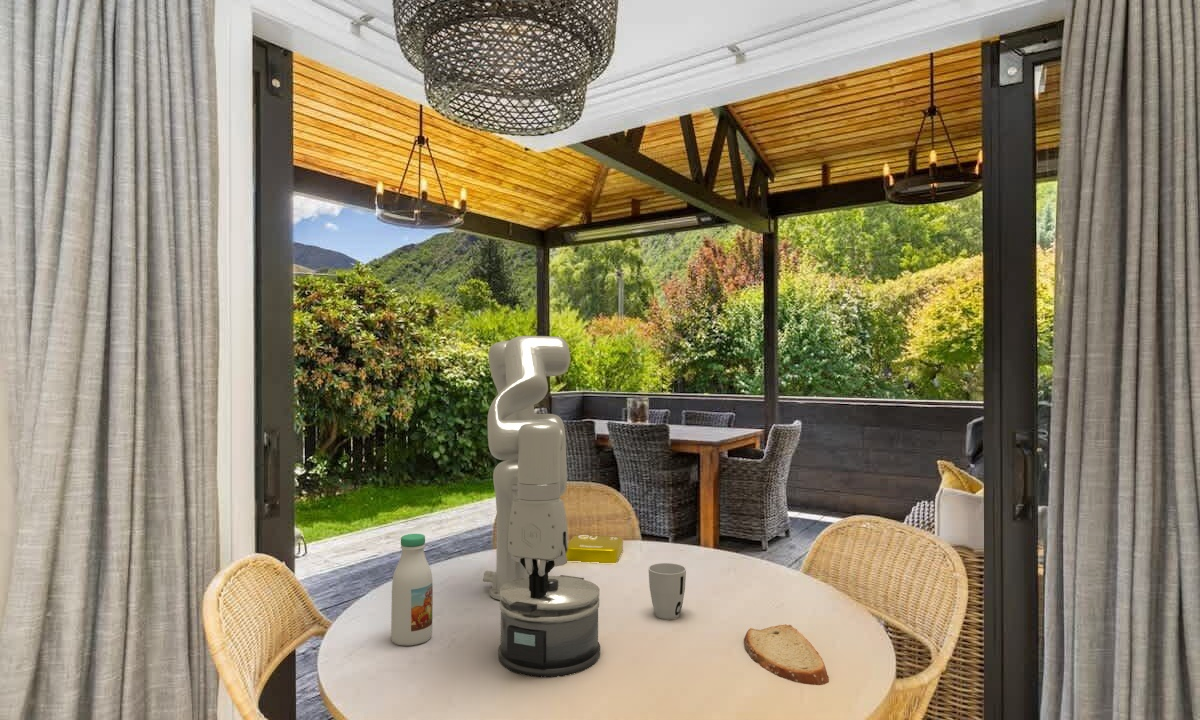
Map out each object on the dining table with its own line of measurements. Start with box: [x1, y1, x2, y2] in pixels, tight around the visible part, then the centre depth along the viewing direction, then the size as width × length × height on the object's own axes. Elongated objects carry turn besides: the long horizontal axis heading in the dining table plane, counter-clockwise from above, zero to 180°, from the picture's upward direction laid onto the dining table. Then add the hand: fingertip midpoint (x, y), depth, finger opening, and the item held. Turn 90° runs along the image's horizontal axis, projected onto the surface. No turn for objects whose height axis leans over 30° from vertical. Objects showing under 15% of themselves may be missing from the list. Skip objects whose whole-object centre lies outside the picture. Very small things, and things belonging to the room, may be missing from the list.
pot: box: [497, 598, 601, 678], centre depth 119 cm, size 19×22×10 cm
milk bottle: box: [390, 533, 434, 647], centre depth 125 cm, size 8×8×20 cm
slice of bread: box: [743, 624, 830, 686], centre depth 117 cm, size 18×18×4 cm
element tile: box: [566, 534, 624, 564], centre depth 184 cm, size 15×15×5 cm
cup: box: [648, 562, 687, 620], centre depth 138 cm, size 8×8×10 cm
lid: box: [500, 574, 600, 613], centre depth 118 cm, size 18×21×3 cm
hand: (538, 596), depth 113 cm, fingers closed
